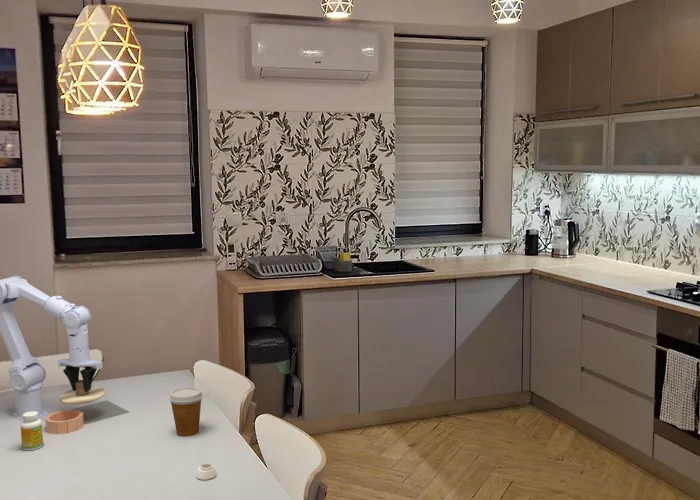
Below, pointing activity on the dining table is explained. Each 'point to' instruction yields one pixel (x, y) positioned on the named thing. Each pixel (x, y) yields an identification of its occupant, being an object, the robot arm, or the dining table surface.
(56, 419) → the bowl
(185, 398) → the disposable coffee cup
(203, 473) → the white tapered round cap
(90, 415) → the mat
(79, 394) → the lid
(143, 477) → the dining table surface
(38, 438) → the supplement bottle
